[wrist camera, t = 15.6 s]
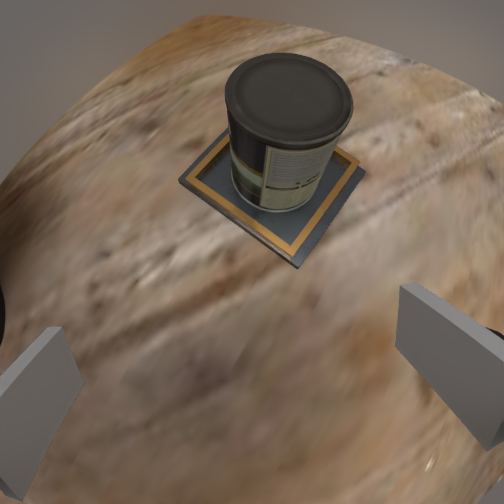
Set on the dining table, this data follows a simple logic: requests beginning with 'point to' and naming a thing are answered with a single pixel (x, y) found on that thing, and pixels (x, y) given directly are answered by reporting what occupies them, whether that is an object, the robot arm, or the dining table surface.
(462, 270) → the dining table surface
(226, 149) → the mount plate
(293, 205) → the coffee can
